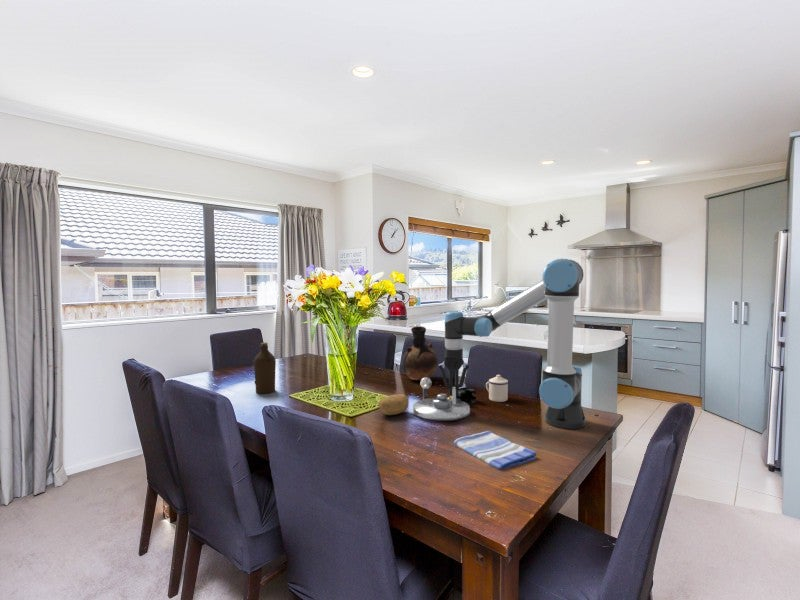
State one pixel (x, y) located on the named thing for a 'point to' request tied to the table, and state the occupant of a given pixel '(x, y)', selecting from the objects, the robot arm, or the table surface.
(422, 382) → the dial stand
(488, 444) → the dish towel
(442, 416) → the turntable
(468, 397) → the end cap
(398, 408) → the potato
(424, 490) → the table surface
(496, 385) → the teacup with lid
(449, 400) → the cover
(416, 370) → the ceramic vessel
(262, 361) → the olive oil
